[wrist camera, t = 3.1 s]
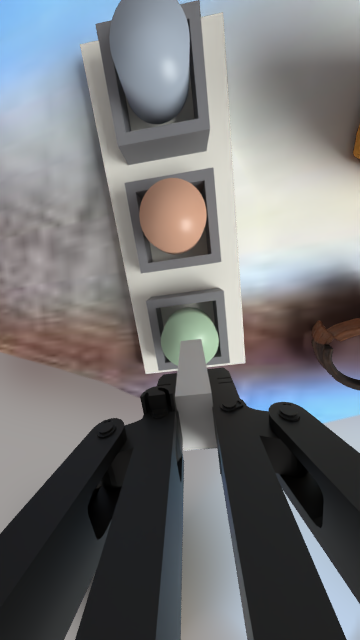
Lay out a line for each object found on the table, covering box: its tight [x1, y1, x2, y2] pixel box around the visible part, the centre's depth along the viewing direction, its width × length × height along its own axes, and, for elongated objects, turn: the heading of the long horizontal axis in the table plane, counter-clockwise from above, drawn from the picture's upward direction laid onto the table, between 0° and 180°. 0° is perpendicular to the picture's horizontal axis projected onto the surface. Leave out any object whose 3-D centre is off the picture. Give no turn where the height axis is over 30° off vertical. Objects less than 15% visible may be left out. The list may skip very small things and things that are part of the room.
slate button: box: [109, 0, 190, 124], centre depth 14 cm, size 5×5×3 cm
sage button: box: [161, 307, 219, 366], centre depth 19 cm, size 5×5×3 cm
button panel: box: [80, 0, 245, 374], centre depth 20 cm, size 31×12×5 cm, turn 8°
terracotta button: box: [139, 178, 207, 255], centre depth 16 cm, size 5×5×3 cm
